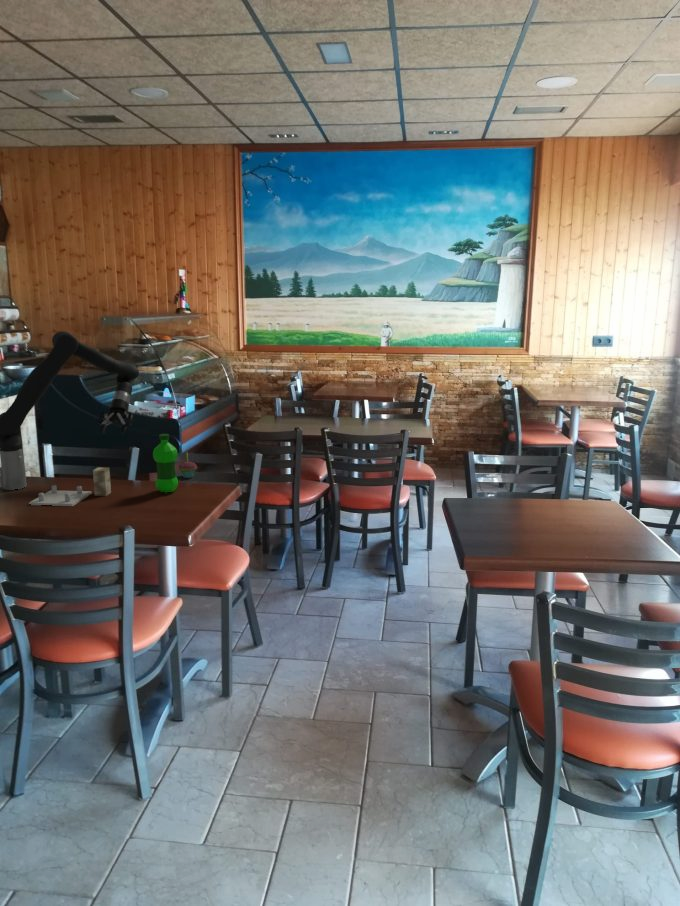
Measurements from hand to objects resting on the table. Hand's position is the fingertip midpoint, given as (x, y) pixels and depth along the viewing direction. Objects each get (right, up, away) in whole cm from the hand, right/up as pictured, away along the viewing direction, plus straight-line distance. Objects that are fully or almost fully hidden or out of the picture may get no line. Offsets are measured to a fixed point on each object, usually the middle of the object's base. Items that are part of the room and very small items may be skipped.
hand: (112, 433), depth 298 cm
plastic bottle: (+25, -26, -4) cm, 36 cm away
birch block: (-1, -26, -8) cm, 28 cm away
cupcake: (+29, -20, +20) cm, 40 cm away
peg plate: (-16, -28, -16) cm, 36 cm away
